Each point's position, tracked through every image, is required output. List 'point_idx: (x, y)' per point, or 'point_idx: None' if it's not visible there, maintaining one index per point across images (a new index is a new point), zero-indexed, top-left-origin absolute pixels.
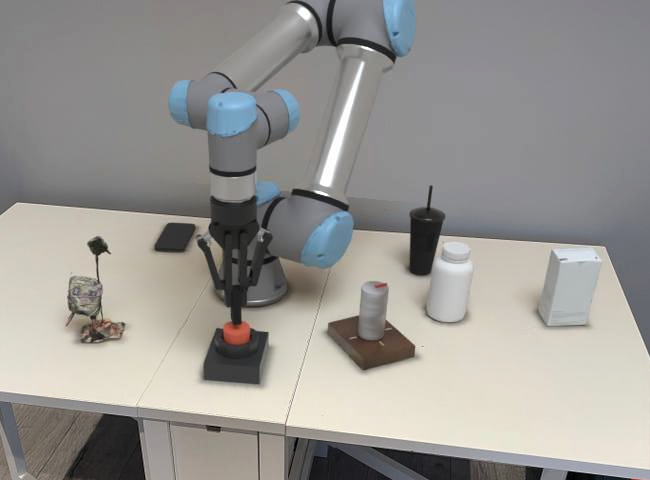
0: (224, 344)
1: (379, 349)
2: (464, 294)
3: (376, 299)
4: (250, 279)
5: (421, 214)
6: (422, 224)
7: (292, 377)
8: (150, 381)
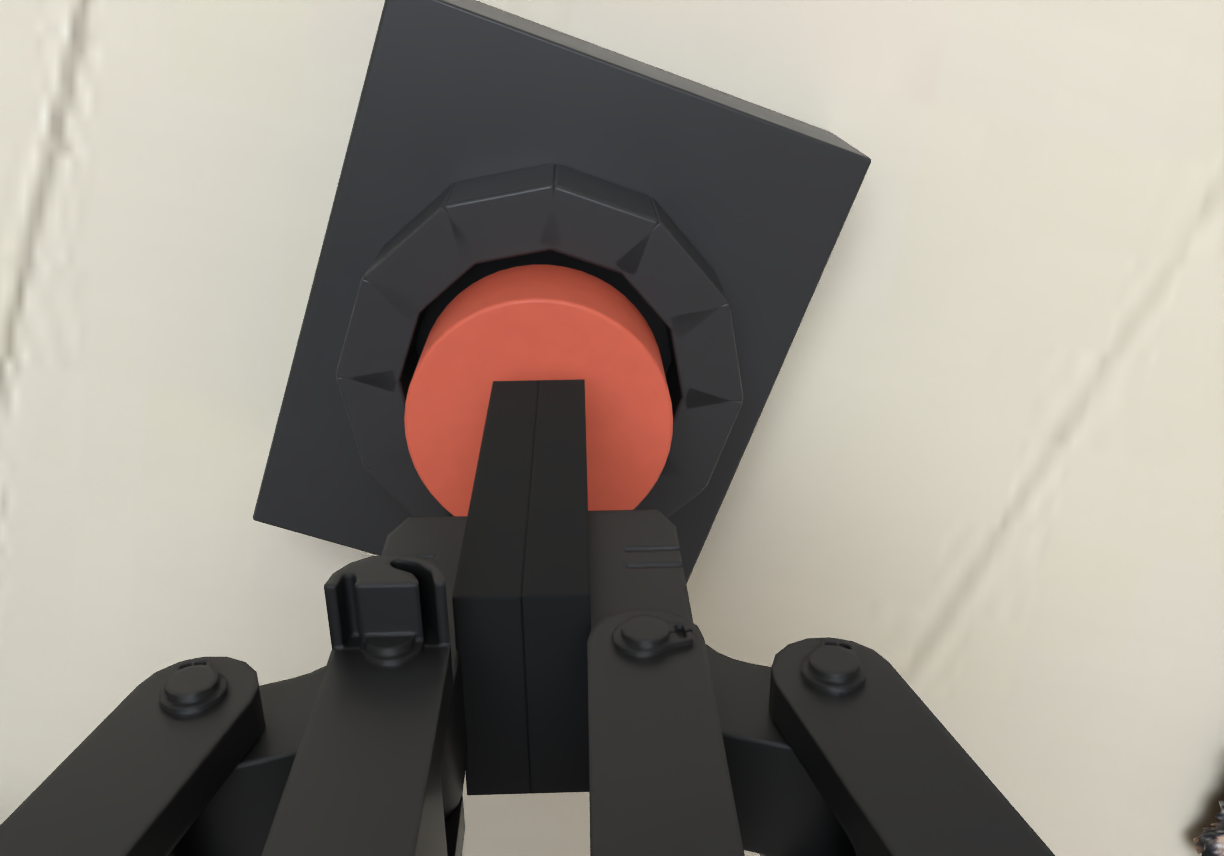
0: (678, 275)
1: None
2: None
3: None
4: (244, 779)
5: None
6: None
7: (133, 31)
8: (1214, 199)
